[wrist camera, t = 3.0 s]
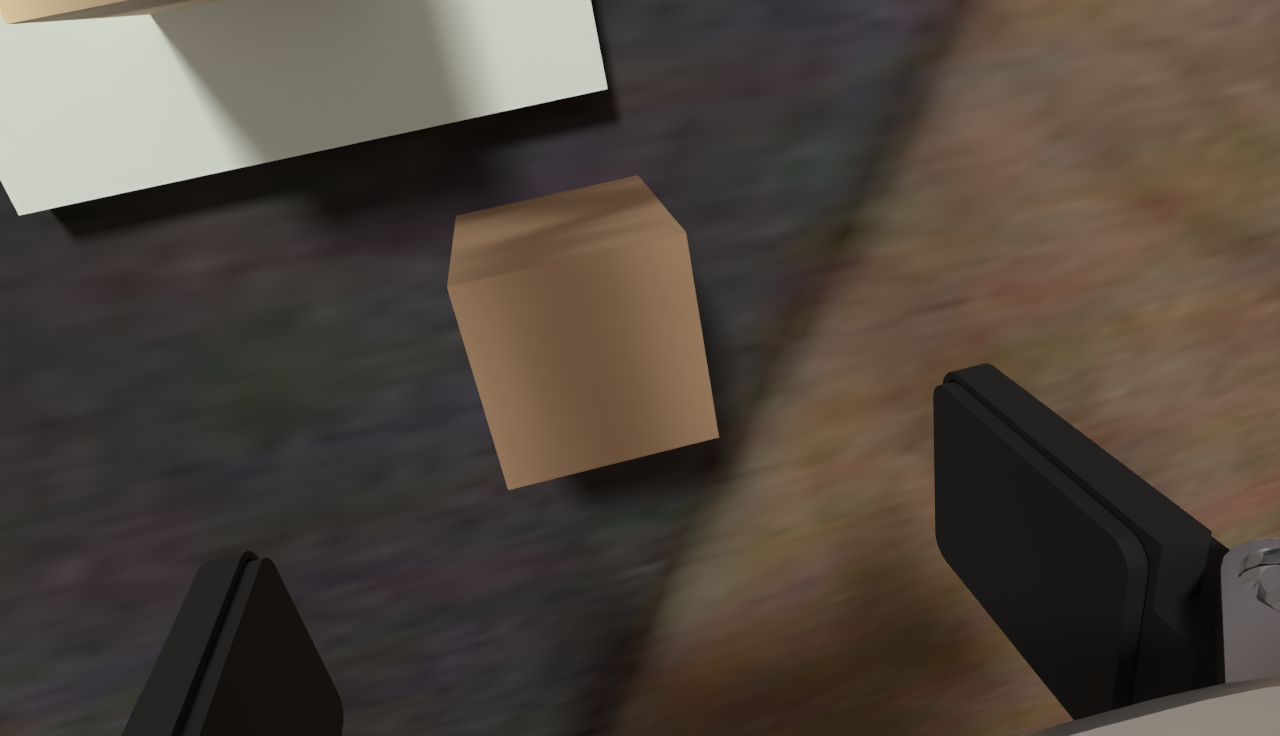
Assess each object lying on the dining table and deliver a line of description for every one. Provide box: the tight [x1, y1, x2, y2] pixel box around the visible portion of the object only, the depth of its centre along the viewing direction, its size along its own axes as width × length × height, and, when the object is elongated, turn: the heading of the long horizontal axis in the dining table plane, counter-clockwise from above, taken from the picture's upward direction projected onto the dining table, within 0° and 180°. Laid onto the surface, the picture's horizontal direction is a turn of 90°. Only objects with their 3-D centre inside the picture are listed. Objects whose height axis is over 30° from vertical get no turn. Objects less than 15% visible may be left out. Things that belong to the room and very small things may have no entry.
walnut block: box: [447, 175, 719, 490], centre depth 21 cm, size 5×5×6 cm
